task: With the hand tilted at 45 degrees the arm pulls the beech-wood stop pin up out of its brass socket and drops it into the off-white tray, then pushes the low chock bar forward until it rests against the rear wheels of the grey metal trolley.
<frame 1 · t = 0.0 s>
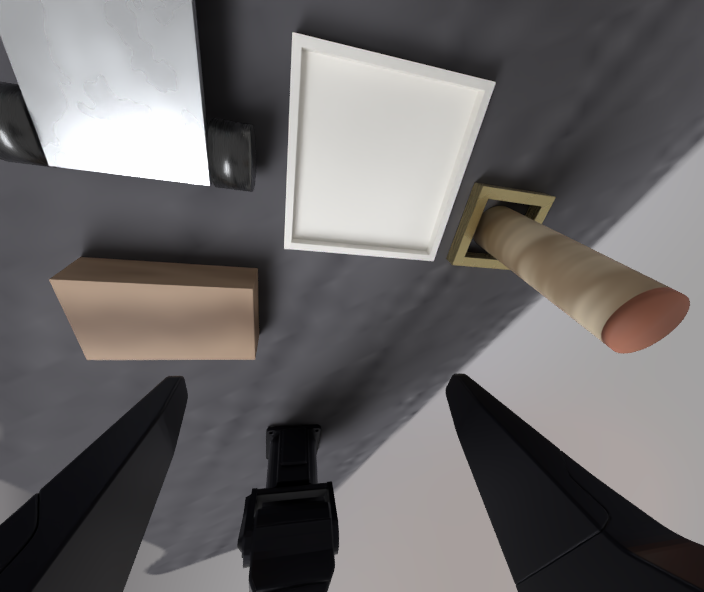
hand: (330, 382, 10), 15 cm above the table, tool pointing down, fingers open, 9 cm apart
pin socket: (493, 227, 24), on the table
chock bar: (183, 298, 24), on the table
stop pin: (549, 262, 19), in the pin socket
tray: (375, 170, 20), on the table
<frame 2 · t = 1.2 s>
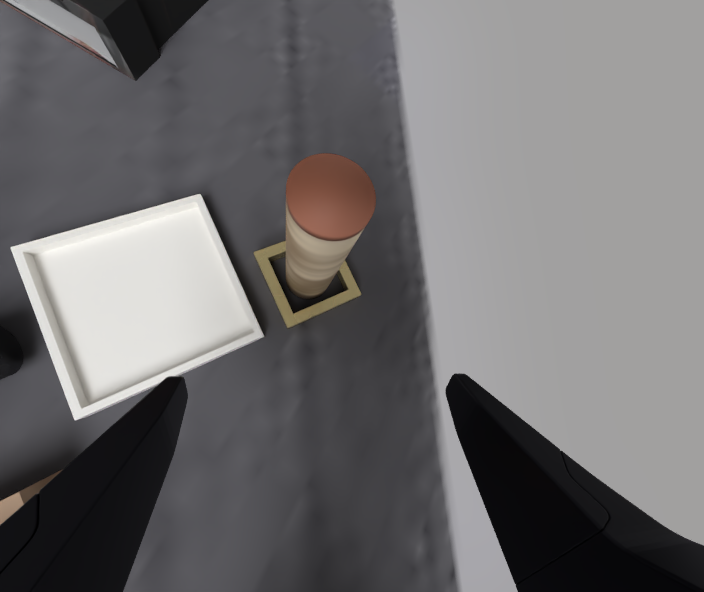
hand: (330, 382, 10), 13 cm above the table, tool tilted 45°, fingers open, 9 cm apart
pin socket: (307, 277, 24), on the table
stop pin: (315, 250, 18), in the pin socket
tray: (152, 297, 21), on the table
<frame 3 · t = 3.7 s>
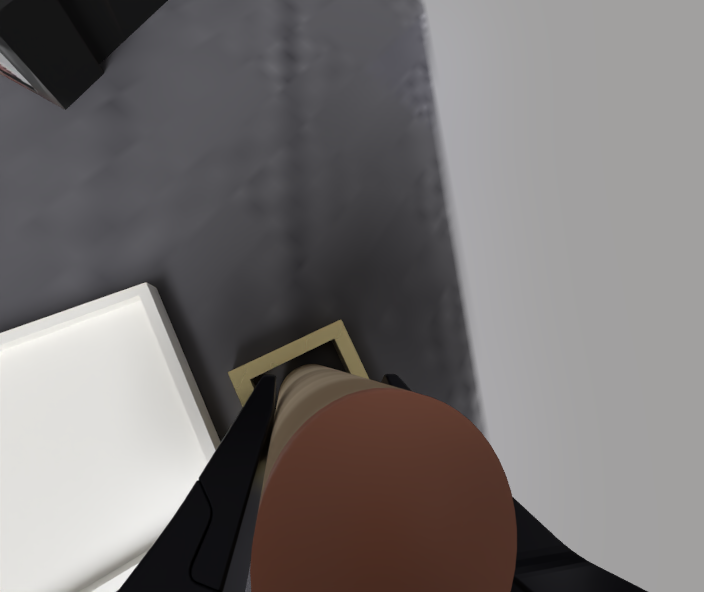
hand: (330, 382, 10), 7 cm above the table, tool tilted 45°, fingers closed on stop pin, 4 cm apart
pin socket: (311, 396, 16), on the table
stop pin: (327, 422, 10), in the pin socket, touching gripper
tray: (65, 453, 13), on the table
when the fingers open (8 cm above the table, at t = 6.7 s): stop pin stays where it is, resting on tray.
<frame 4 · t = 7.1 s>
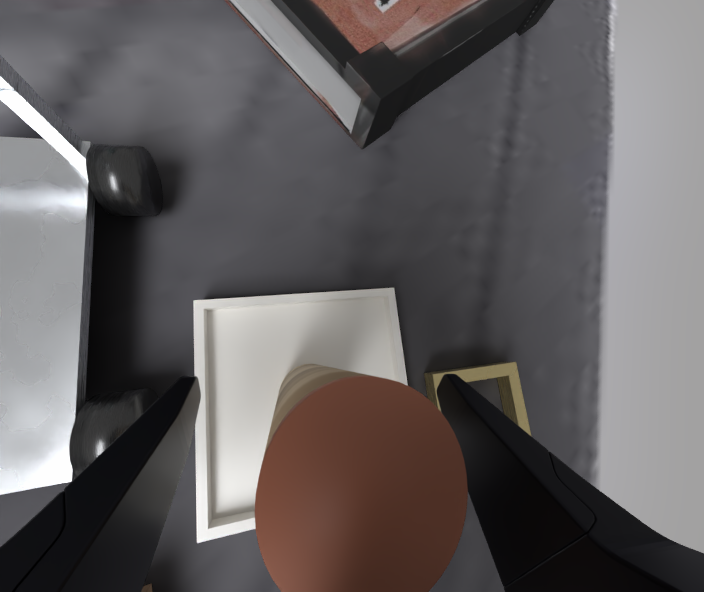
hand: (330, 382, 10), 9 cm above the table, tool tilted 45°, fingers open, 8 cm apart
pin socket: (473, 414, 20), on the table
stop pin: (322, 415, 11), resting on tray
tray: (308, 393, 18), on the table
trolley: (35, 309, 15), on the table
book: (393, 13, 26), on the table
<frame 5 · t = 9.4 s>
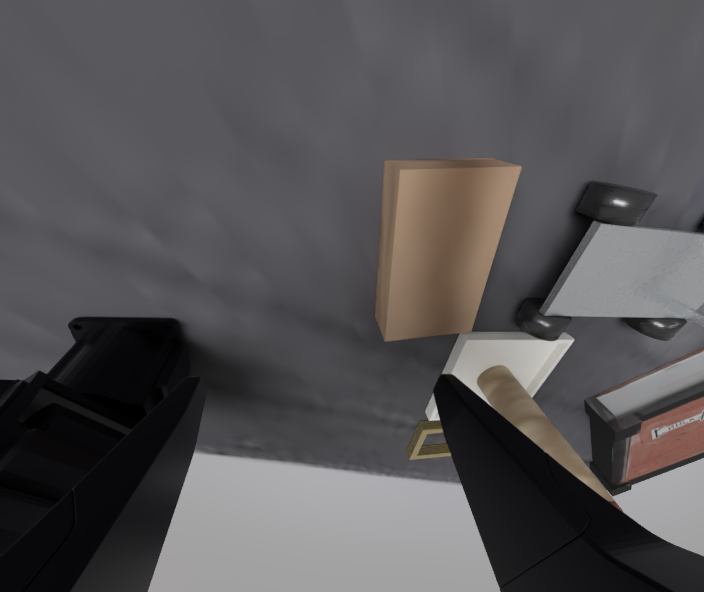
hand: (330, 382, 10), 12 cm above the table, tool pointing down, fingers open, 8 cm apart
pin socket: (435, 434, 36), on the table
chock bar: (423, 245, 22), on the table
stop pin: (534, 434, 26), resting on tray
tray: (490, 374, 31), on the table
trolley: (617, 261, 25), on the table
book: (639, 412, 44), on the table
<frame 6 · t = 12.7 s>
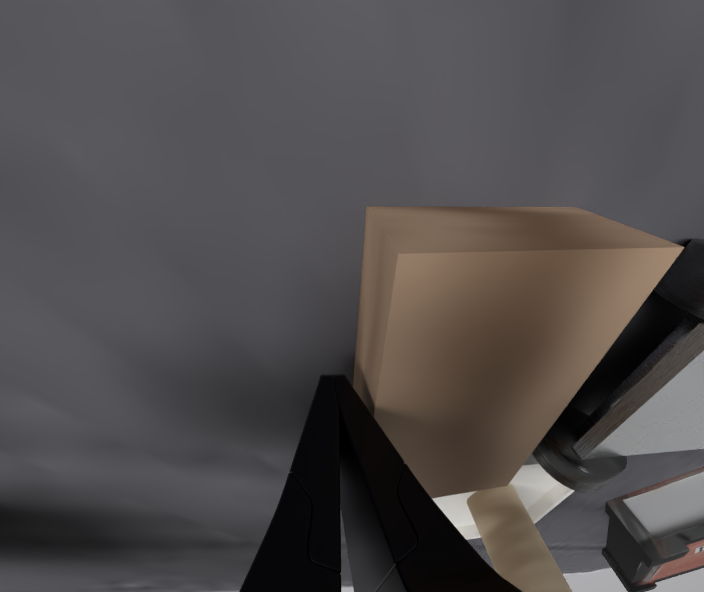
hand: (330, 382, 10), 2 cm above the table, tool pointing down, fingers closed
chock bar: (433, 344, 12), on the table
tray: (487, 489, 21), on the table
trolley: (696, 355, 15), on the table
book: (670, 501, 35), on the table
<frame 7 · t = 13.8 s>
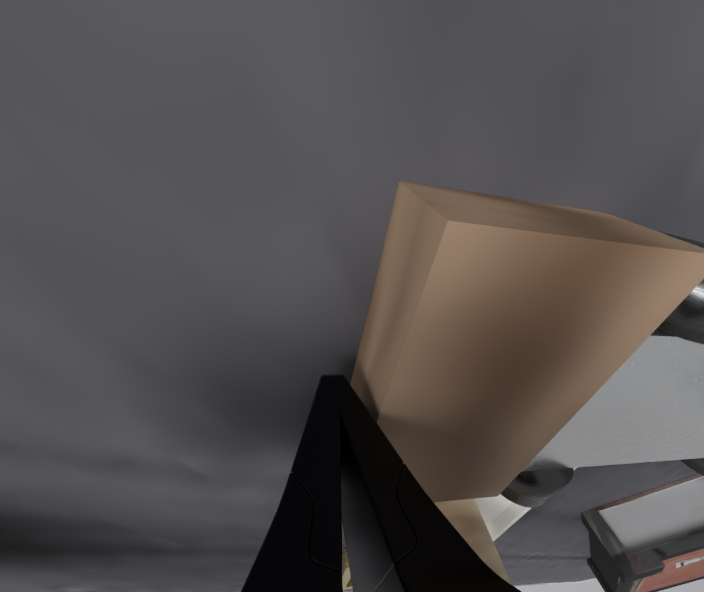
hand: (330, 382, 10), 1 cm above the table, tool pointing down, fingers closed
pin socket: (374, 556, 26), on the table
chock bar: (440, 342, 12), on the table, touching gripper
tray: (446, 497, 20), on the table
trolley: (657, 358, 14), on the table
book: (655, 511, 33), on the table
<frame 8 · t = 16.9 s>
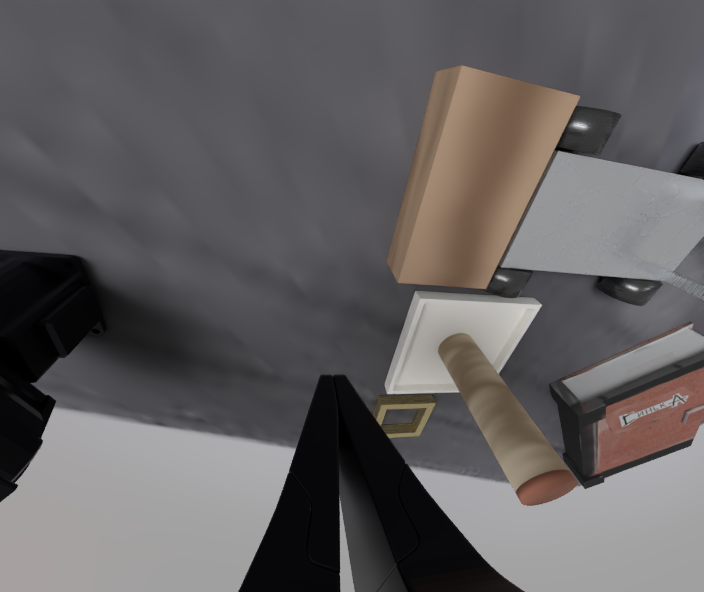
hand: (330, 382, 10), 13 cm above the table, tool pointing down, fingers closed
pin socket: (398, 412, 34), on the table
chock bar: (451, 188, 20), on the table
stop pin: (491, 403, 23), resting on tray
tray: (453, 344, 29), on the table
trolley: (586, 214, 23), on the table
book: (612, 400, 42), on the table
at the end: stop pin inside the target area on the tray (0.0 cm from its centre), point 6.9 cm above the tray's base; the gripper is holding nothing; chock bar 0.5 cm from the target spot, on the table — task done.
